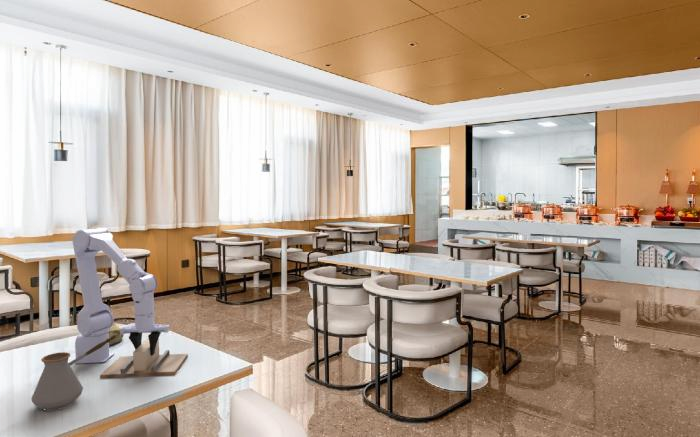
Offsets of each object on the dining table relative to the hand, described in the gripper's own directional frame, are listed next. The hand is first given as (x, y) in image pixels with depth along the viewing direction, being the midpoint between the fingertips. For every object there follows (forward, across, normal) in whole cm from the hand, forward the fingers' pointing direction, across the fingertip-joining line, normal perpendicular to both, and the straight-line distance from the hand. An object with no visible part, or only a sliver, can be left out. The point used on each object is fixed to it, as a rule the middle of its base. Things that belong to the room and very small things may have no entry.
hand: (146, 354), depth 143 cm
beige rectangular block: (+3, 0, -1) cm, 3 cm away
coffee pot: (+4, +11, +20) cm, 23 cm away
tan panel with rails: (+4, 0, 0) cm, 4 cm away
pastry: (+4, +24, -27) cm, 36 cm away
